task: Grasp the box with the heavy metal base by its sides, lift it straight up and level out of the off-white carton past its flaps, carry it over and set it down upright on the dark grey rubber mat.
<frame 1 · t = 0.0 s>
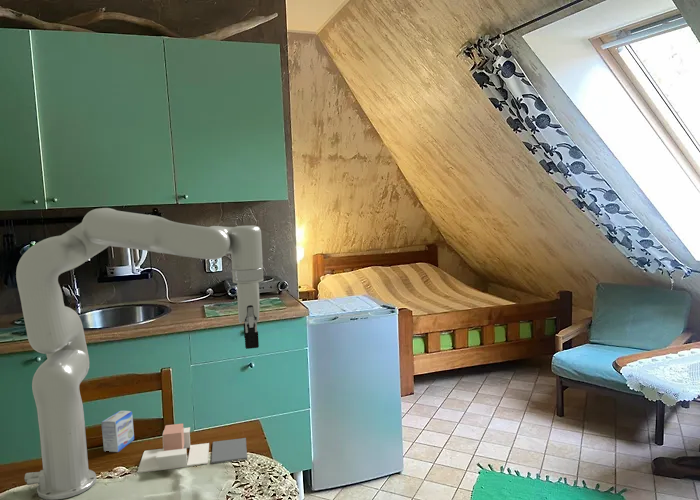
hand: (251, 342, 138), 31 cm above the table, tool pointing down, fingers open, 9 cm apart
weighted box: (175, 458, 145), resting in carton
medicine box: (119, 446, 153), on the table
carton: (175, 457, 145), on the table
mat: (229, 451, 148), on the table
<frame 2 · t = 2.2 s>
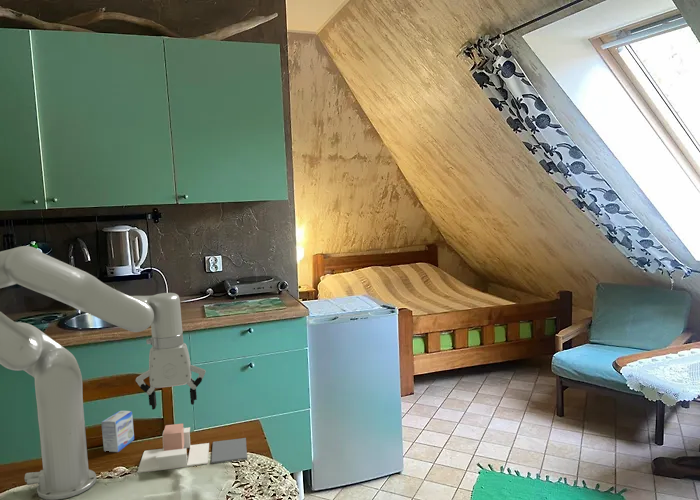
hand: (173, 405, 144), 14 cm above the table, tool pointing down, fingers open, 9 cm apart
nothing on the table moved.
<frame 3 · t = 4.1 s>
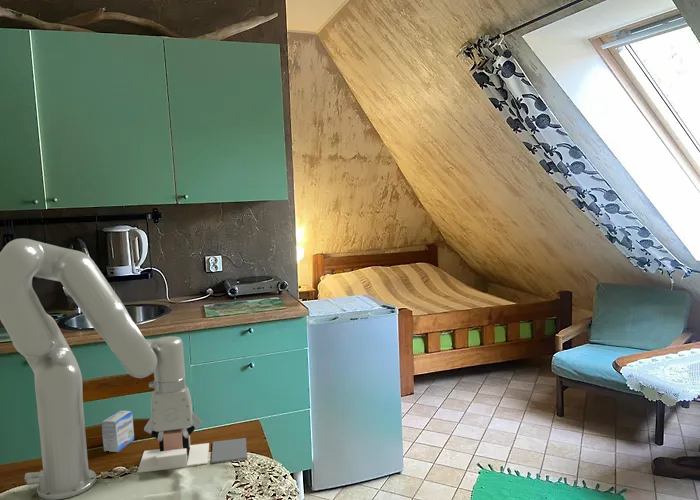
hand: (174, 451, 145), 2 cm above the table, tool pointing down, fingers closed on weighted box, 4 cm apart
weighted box: (175, 458, 145), resting in carton, touching gripper
everything else where it was.
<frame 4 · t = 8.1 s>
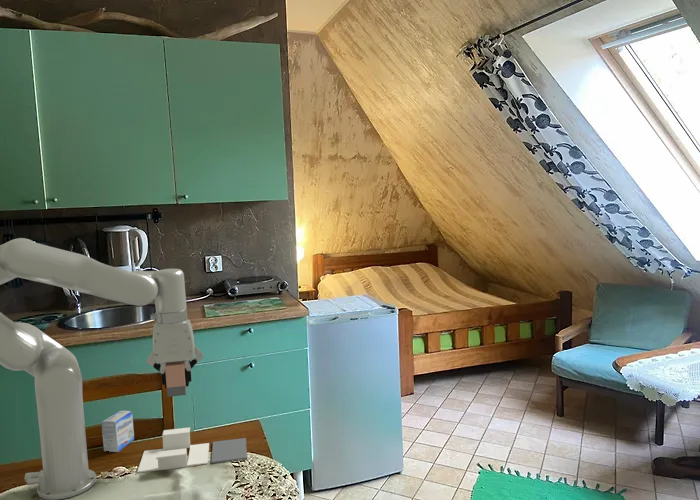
hand: (177, 385, 143), 20 cm above the table, tool pointing down, fingers closed on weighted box, 4 cm apart
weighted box: (177, 391, 144), point 18 cm above the table, touching gripper
everything else where it was.
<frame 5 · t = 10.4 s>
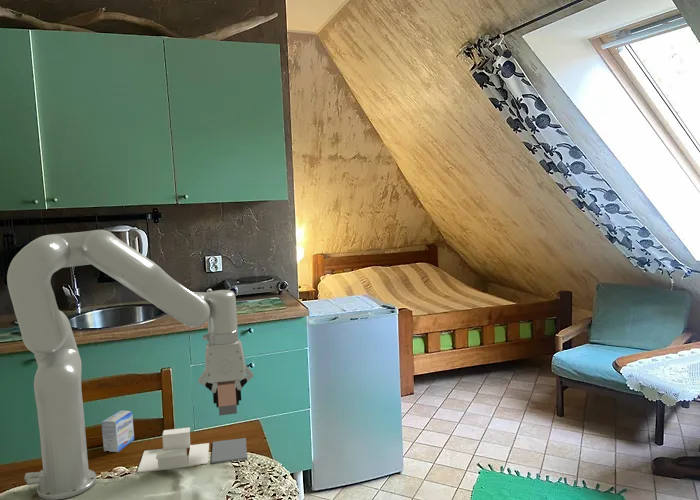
hand: (227, 403, 147), 13 cm above the table, tool pointing down, fingers closed on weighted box, 4 cm apart
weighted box: (228, 410, 147), point 11 cm above the table, touching gripper
everything else where it was.
when the fingers open (4 cm above the table, at t = 12.4 s): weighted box drops 1 cm, resting on mat.
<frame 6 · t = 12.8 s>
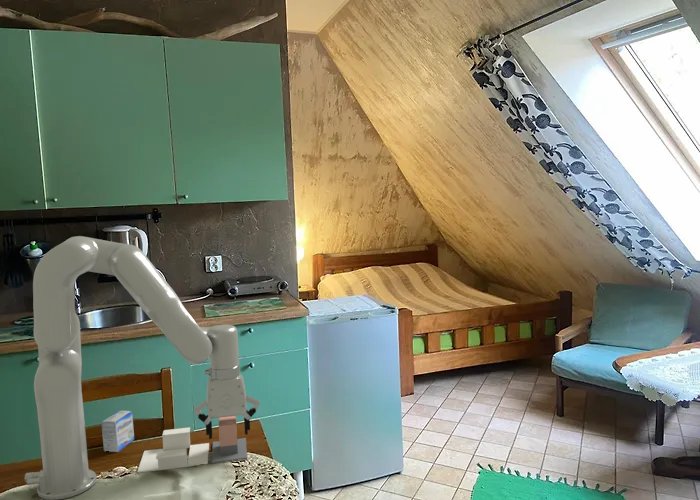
hand: (228, 434, 147), 5 cm above the table, tool pointing down, fingers open, 9 cm apart
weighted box: (229, 449, 148), resting on mat
everything else where it was.
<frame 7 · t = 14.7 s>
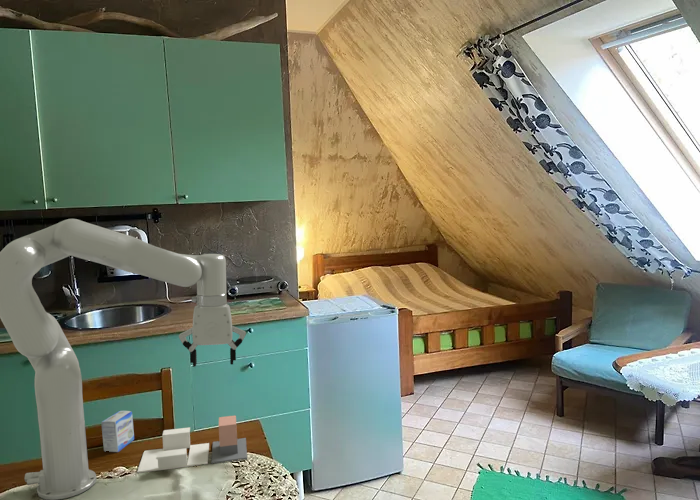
hand: (213, 364, 147), 24 cm above the table, tool pointing down, fingers open, 9 cm apart
nothing on the table moved.
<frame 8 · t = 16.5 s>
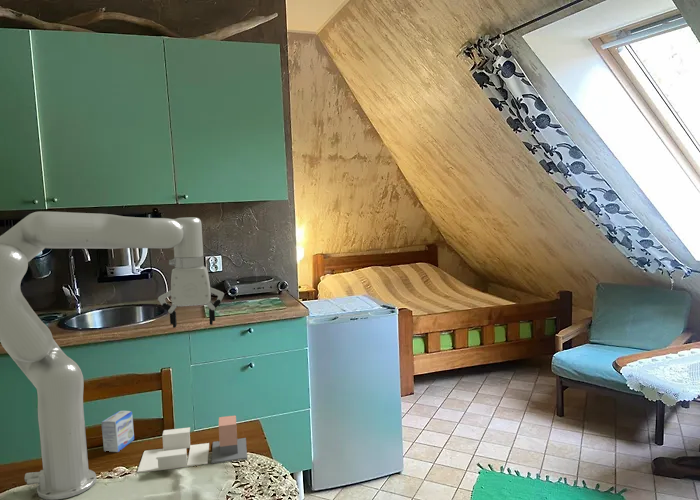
hand: (193, 325, 151), 33 cm above the table, tool pointing down, fingers open, 9 cm apart
nothing on the table moved.
at the end: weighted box inside the target area on the mat (0.1 cm from its centre), point 0.5 cm above the mat's base; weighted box tilted 0°; the gripper is holding nothing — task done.
